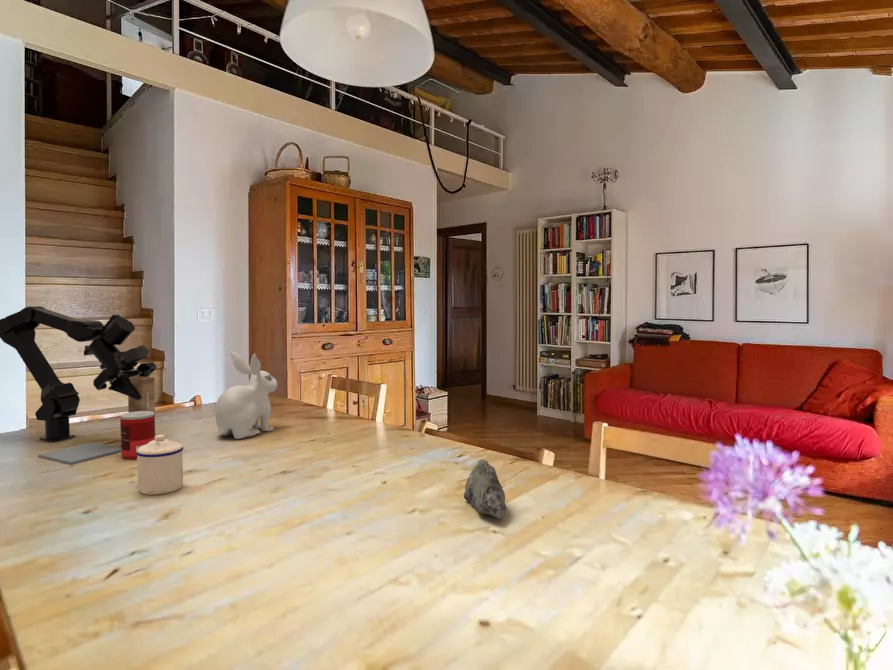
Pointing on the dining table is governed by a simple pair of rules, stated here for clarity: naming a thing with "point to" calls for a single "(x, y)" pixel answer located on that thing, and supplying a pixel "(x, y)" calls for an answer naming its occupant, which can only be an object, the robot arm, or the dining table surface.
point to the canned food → (136, 432)
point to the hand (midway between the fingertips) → (145, 397)
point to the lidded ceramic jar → (160, 466)
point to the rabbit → (246, 401)
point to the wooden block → (142, 394)
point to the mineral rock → (485, 490)
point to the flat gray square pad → (80, 453)
